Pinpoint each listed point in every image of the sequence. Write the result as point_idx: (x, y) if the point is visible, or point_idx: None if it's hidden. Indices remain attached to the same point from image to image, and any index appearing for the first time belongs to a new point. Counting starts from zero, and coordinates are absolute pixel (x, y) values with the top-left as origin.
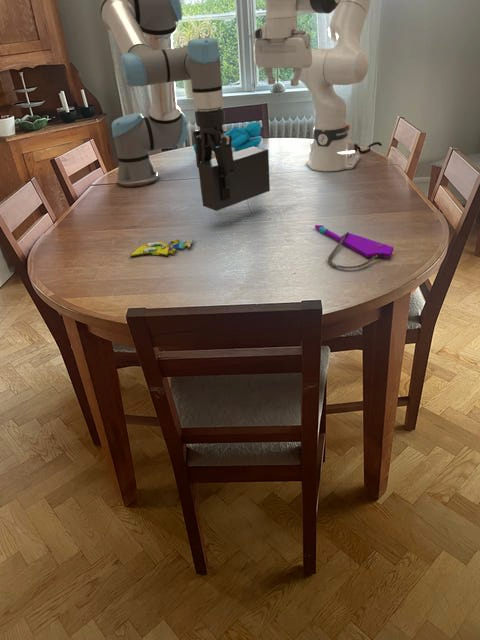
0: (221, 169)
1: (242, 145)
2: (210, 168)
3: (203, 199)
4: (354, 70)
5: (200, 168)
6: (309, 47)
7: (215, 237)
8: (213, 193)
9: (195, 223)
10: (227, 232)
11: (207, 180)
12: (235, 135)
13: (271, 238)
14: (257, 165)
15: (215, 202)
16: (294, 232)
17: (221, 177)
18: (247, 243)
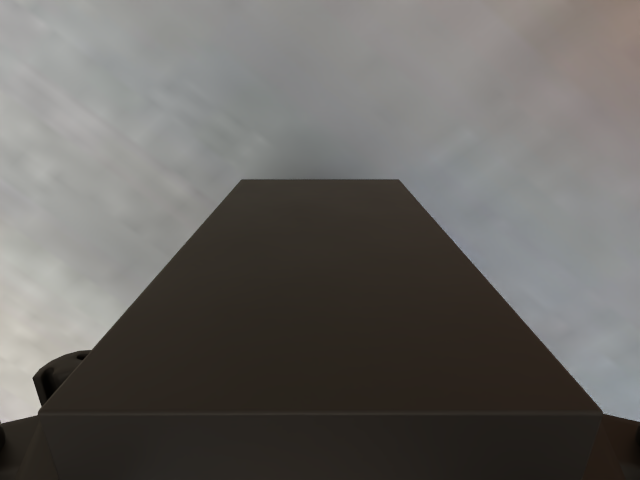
0: (30, 476)
1: None
2: (119, 382)
3: (390, 191)
4: None
5: (479, 344)
6: None
7: (209, 92)
8: (229, 216)
9: (456, 145)
10: (218, 177)
11: (298, 261)
12: None
13: (10, 260)
14: None
15: (229, 194)
16: (8, 356)
17: (64, 361)
18: (26, 152)
